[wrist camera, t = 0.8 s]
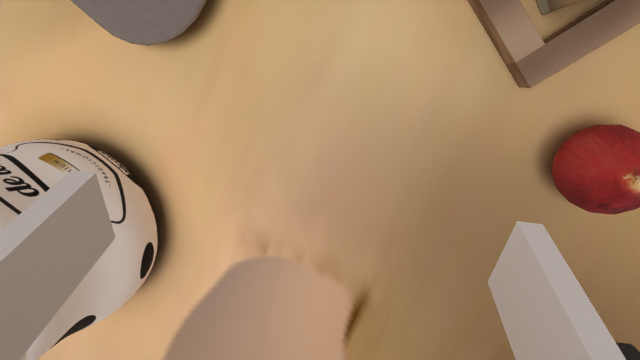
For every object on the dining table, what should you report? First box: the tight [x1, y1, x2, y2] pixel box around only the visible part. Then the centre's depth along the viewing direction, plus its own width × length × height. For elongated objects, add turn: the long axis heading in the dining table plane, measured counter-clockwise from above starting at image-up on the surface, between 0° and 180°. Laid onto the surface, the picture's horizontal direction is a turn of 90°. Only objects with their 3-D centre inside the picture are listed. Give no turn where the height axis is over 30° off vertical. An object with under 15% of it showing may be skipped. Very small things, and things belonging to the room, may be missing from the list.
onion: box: [551, 125, 640, 214], centre depth 25 cm, size 6×6×8 cm
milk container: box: [0, 139, 158, 360], centre depth 30 cm, size 17×17×18 cm
